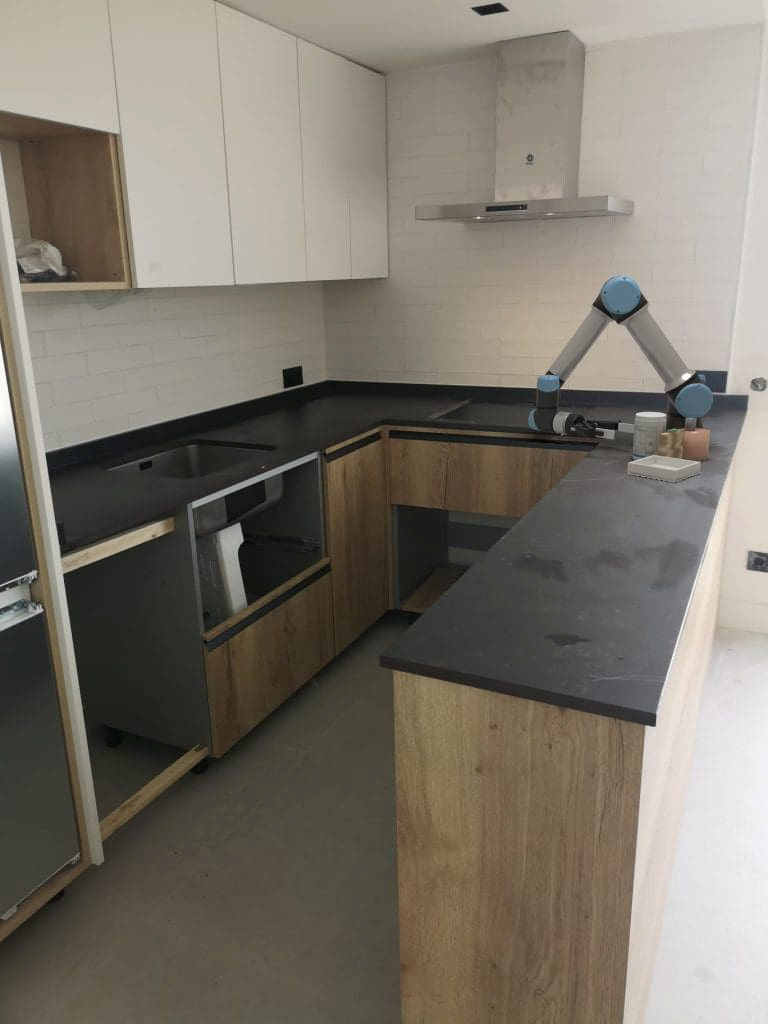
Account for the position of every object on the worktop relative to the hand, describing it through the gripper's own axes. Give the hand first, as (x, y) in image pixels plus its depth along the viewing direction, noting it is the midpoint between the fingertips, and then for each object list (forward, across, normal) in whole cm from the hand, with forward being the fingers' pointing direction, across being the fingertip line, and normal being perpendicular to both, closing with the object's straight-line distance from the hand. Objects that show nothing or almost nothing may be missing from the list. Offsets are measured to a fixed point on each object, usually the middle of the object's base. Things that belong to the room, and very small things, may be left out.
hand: (625, 432), depth 259 cm
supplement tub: (+8, 0, -8) cm, 12 cm away
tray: (+21, +14, -8) cm, 27 cm away
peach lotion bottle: (+17, -12, -8) cm, 23 cm away
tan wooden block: (+16, 0, -8) cm, 18 cm away
